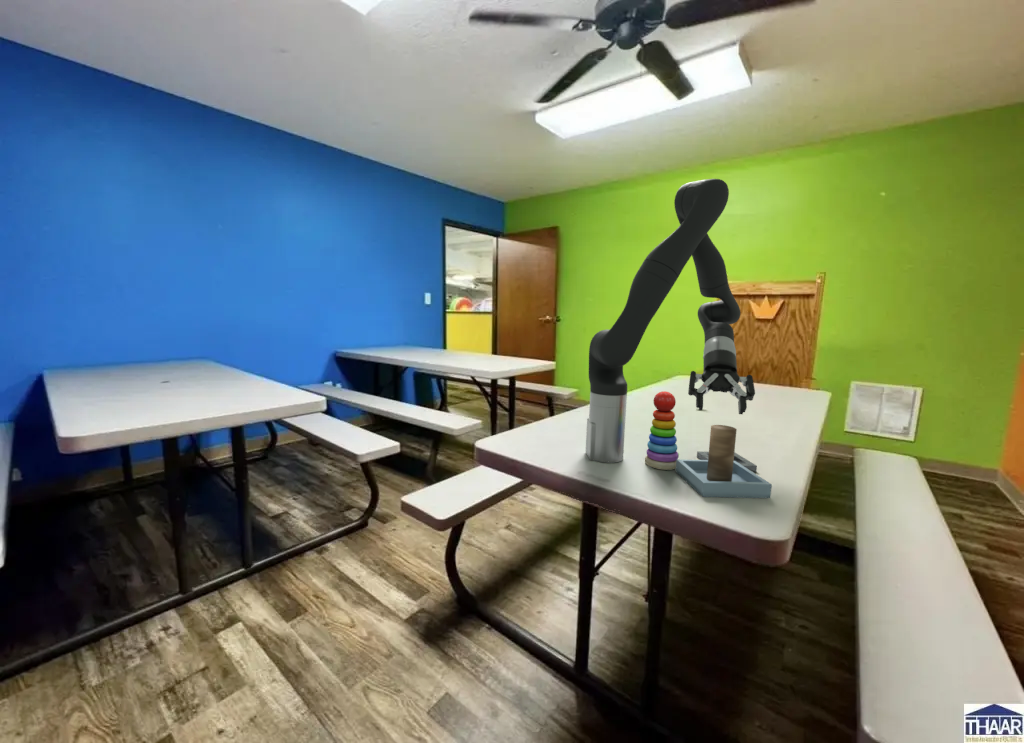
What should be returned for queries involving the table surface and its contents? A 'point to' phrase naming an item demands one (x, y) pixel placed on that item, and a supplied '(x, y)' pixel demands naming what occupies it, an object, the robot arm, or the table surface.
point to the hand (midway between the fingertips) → (720, 410)
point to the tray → (740, 487)
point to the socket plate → (737, 458)
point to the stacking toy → (663, 434)
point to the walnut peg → (721, 453)
